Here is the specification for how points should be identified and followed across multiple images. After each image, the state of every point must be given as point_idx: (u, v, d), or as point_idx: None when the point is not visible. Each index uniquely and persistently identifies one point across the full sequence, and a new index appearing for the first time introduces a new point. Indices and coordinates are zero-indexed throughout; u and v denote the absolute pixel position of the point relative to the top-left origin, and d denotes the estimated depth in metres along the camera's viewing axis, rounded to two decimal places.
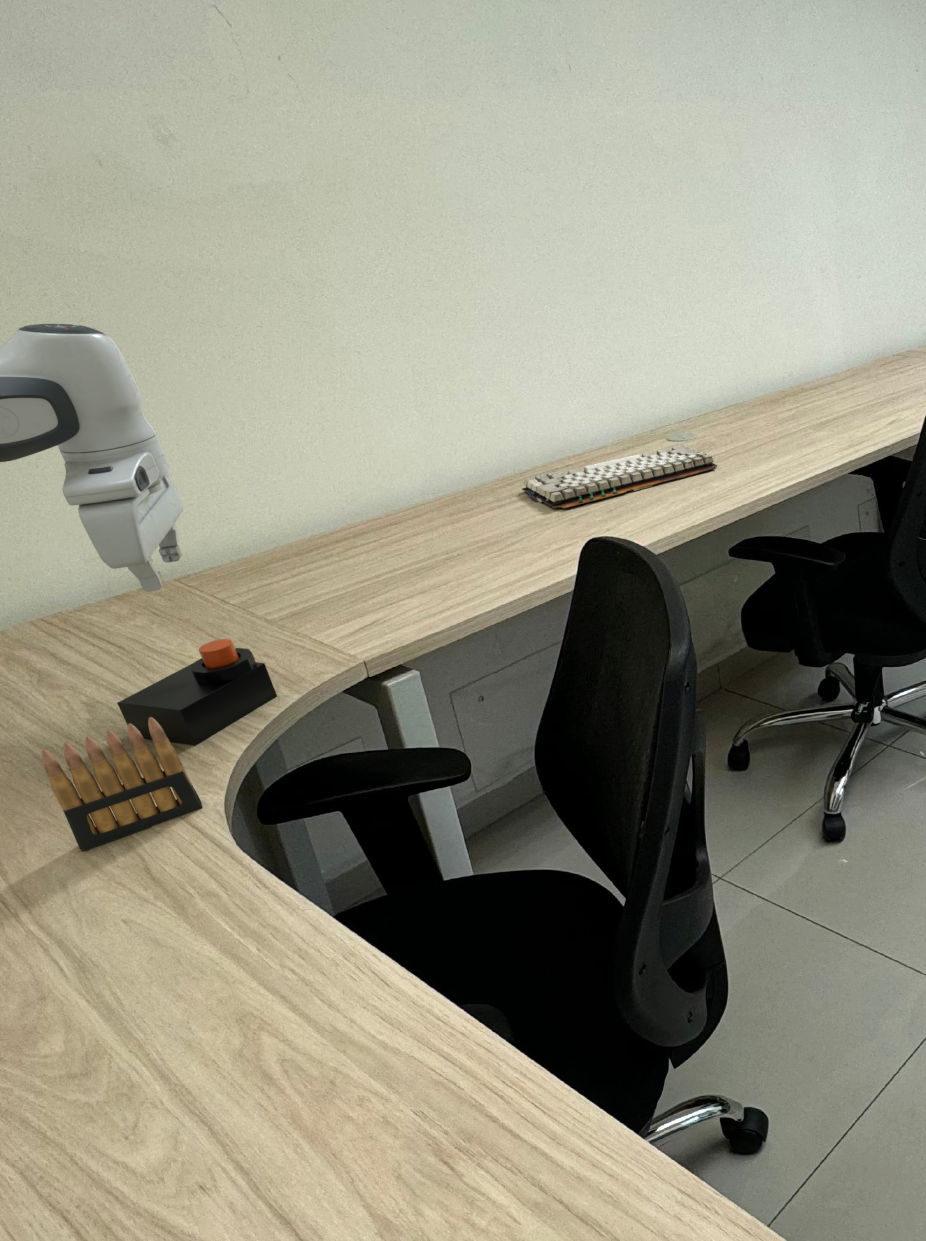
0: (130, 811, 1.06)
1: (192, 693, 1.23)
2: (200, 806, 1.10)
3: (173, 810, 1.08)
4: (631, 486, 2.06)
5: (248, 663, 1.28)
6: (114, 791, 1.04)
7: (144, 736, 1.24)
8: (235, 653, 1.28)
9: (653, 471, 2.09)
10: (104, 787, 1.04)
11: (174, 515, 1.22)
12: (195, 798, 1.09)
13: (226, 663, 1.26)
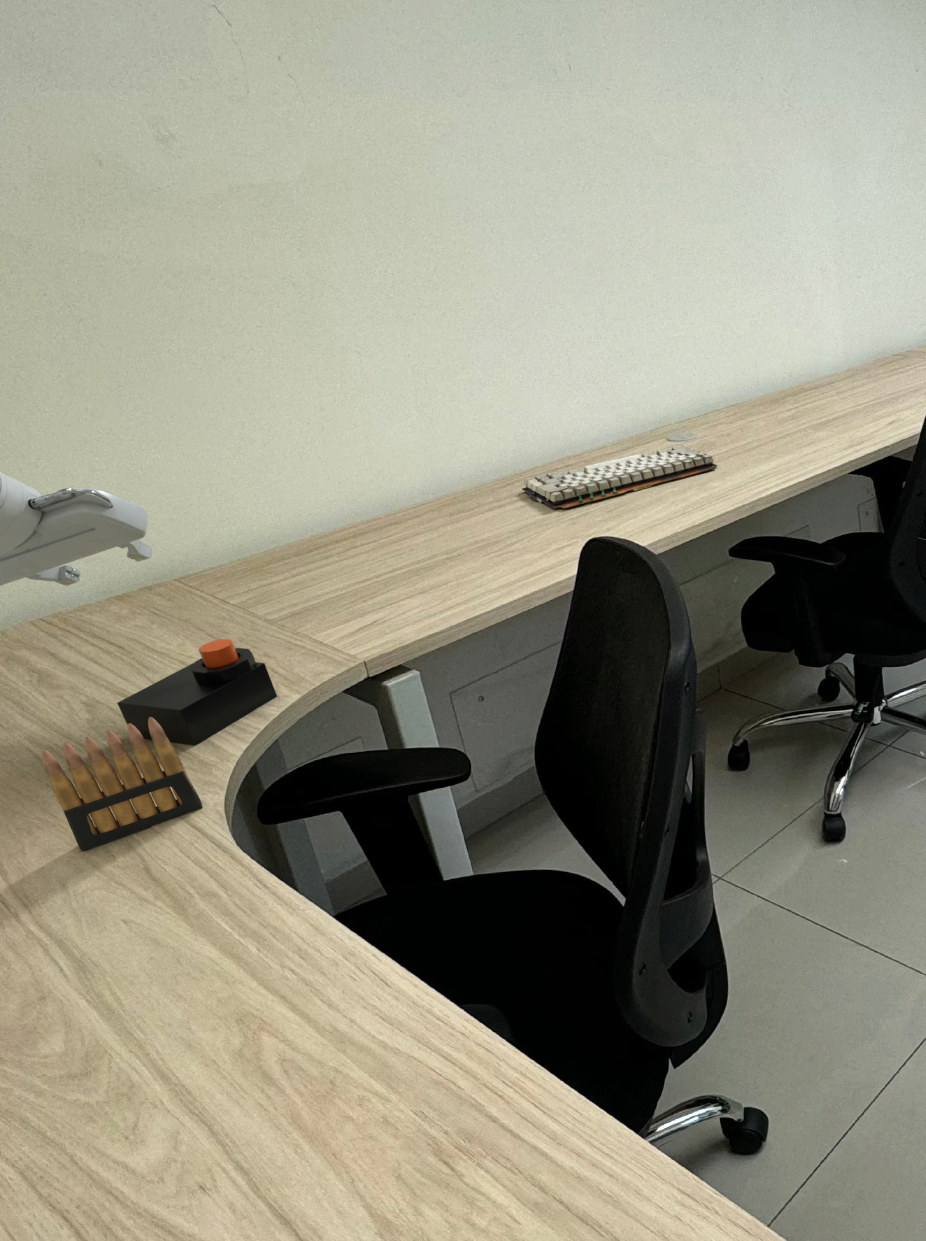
0: (130, 811, 1.06)
1: (192, 693, 1.23)
2: (200, 806, 1.10)
3: (173, 810, 1.08)
4: (631, 486, 2.06)
5: (248, 663, 1.28)
6: (114, 791, 1.04)
7: (144, 736, 1.24)
8: (235, 653, 1.28)
9: (653, 471, 2.09)
10: (104, 787, 1.04)
11: (102, 547, 1.14)
12: (195, 798, 1.09)
13: (226, 663, 1.26)
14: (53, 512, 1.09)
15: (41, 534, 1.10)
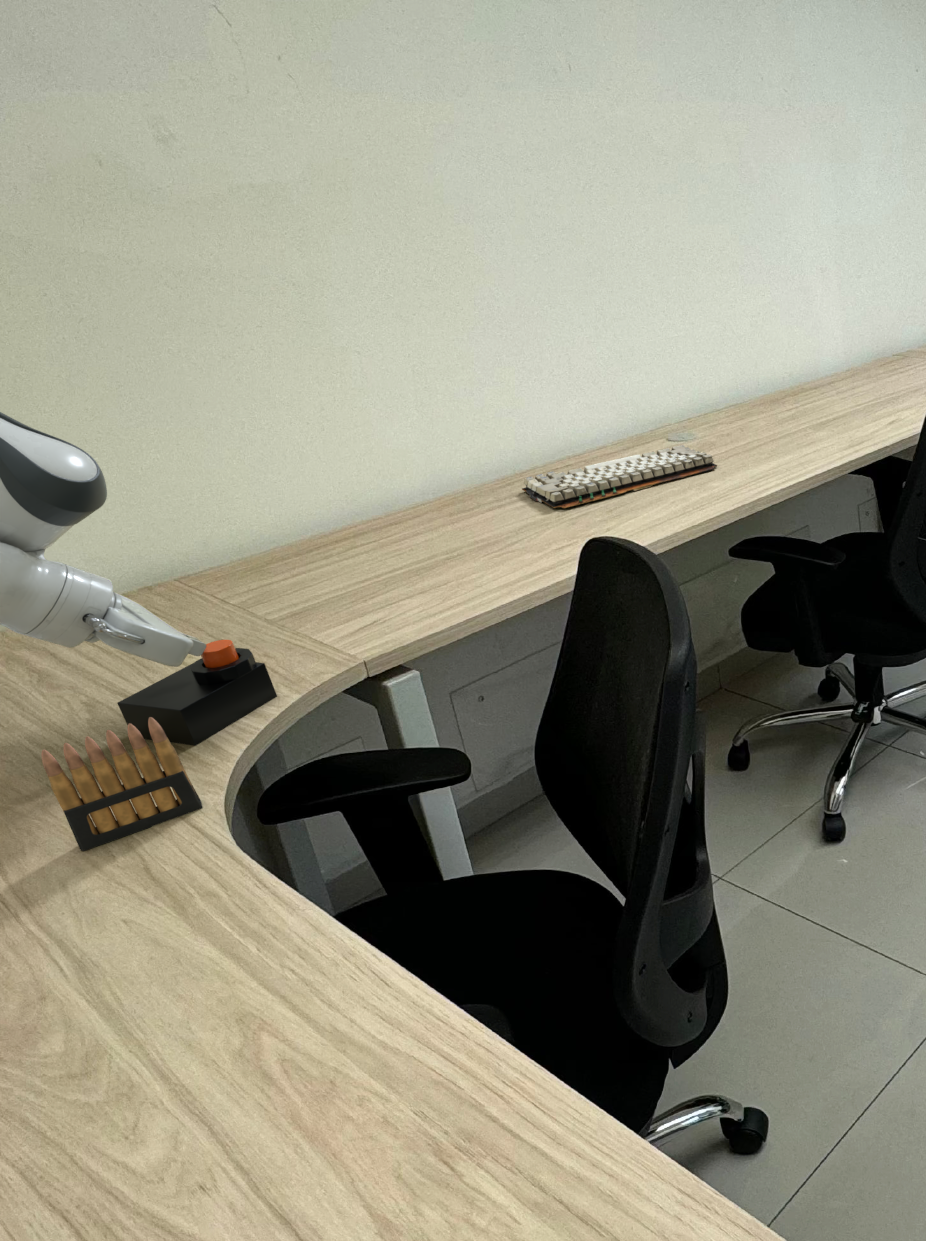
0: (130, 811, 1.06)
1: (192, 693, 1.23)
2: (200, 806, 1.10)
3: (173, 810, 1.08)
4: (631, 486, 2.06)
5: (248, 663, 1.28)
6: (114, 791, 1.04)
7: (144, 736, 1.24)
8: (235, 654, 1.28)
9: (653, 471, 2.09)
10: (104, 787, 1.04)
11: None
12: (195, 798, 1.09)
13: (226, 663, 1.26)
14: None
15: None
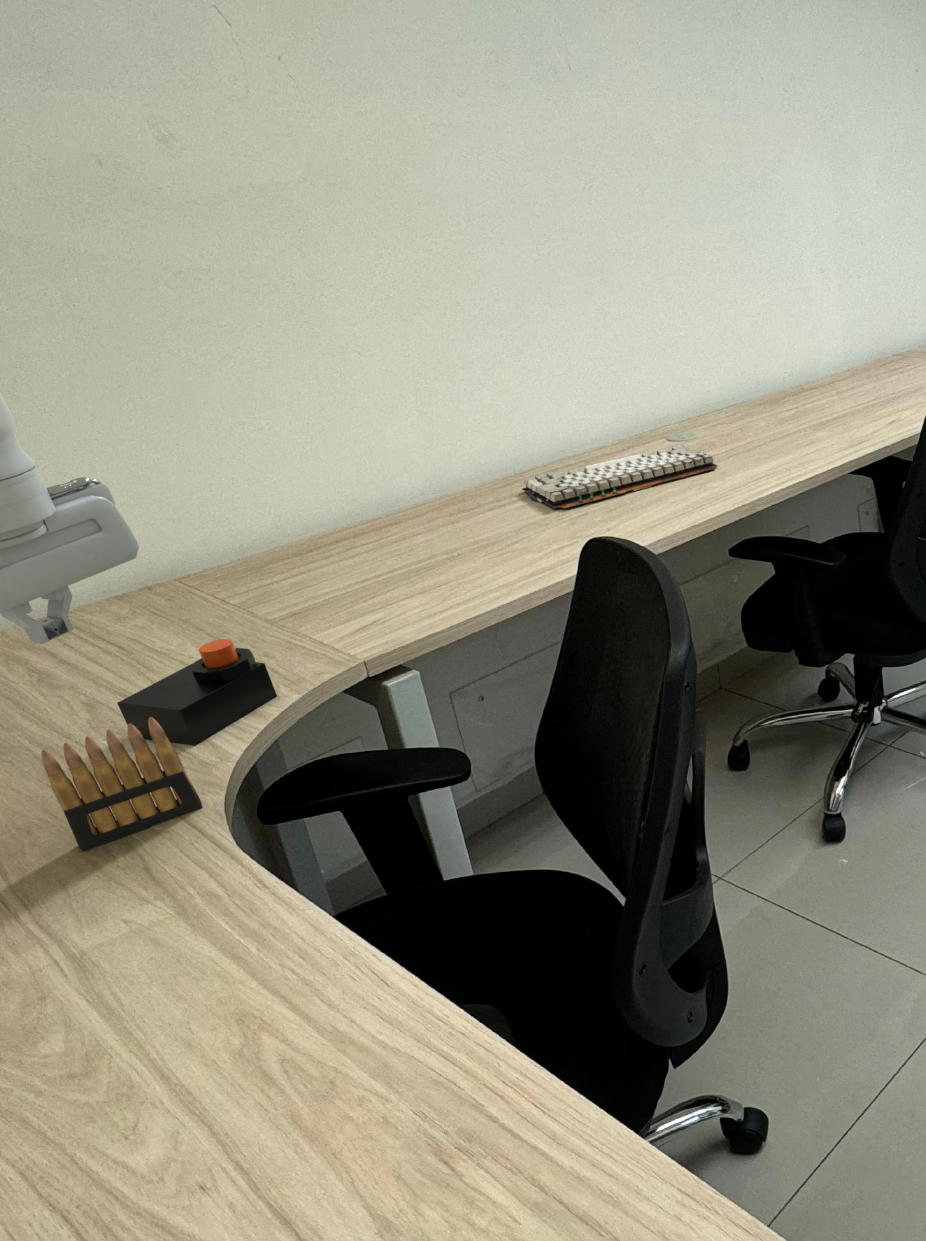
0: (130, 811, 1.06)
1: (192, 693, 1.23)
2: (200, 806, 1.10)
3: (173, 810, 1.08)
4: (631, 486, 2.06)
5: (248, 663, 1.28)
6: (114, 791, 1.04)
7: (144, 736, 1.24)
8: (235, 653, 1.28)
9: (653, 471, 2.09)
10: (104, 787, 1.04)
11: (92, 567, 0.99)
12: (195, 798, 1.09)
13: (226, 663, 1.26)
14: (64, 504, 0.97)
15: (47, 529, 0.95)
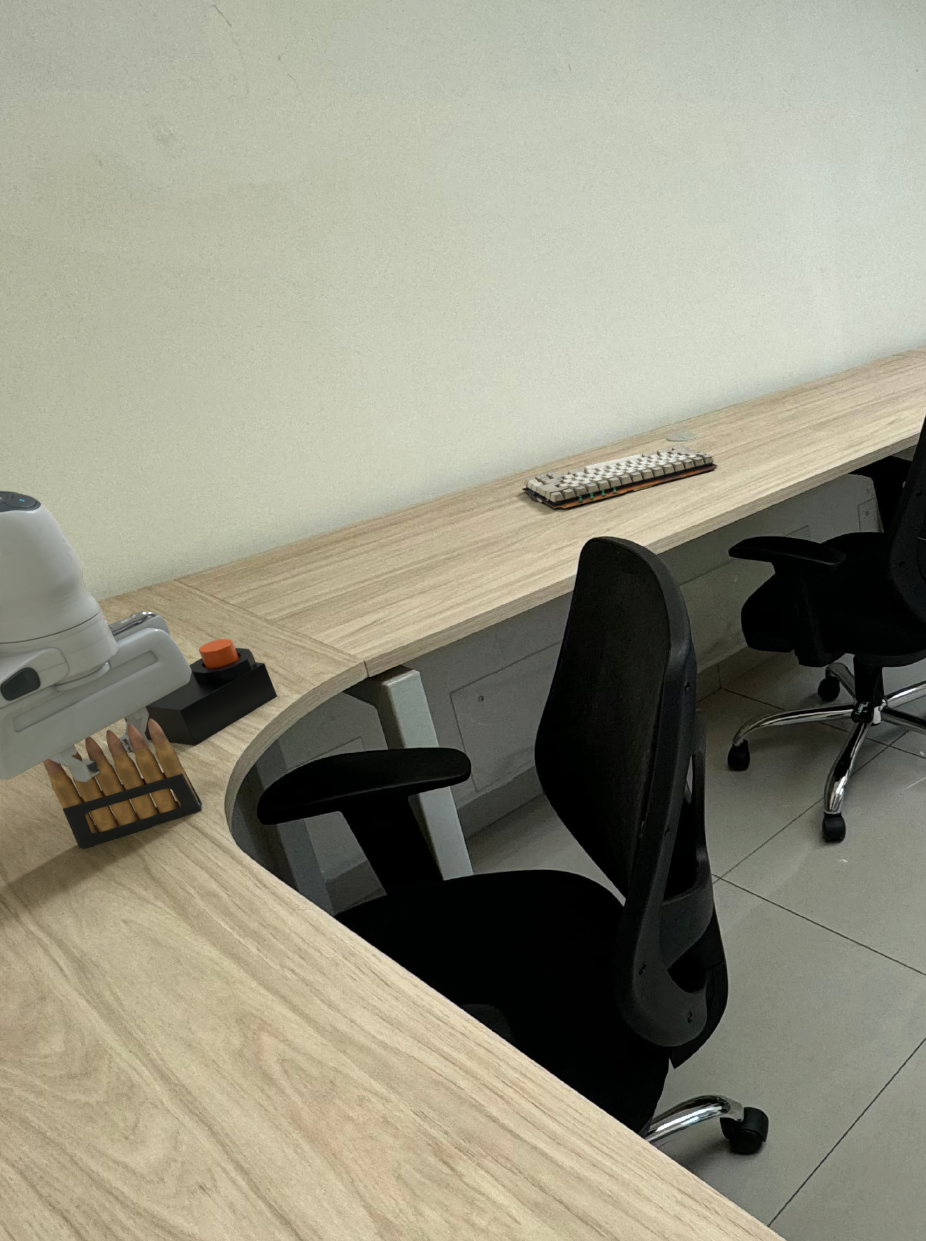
0: (129, 811, 1.06)
1: (192, 693, 1.23)
2: (199, 809, 1.09)
3: (172, 812, 1.08)
4: (631, 486, 2.06)
5: (248, 663, 1.28)
6: (112, 791, 1.04)
7: None
8: (235, 653, 1.28)
9: (653, 471, 2.09)
10: (103, 786, 1.04)
11: (149, 696, 1.06)
12: (194, 801, 1.09)
13: (226, 663, 1.26)
14: (124, 639, 1.04)
15: (110, 666, 1.01)
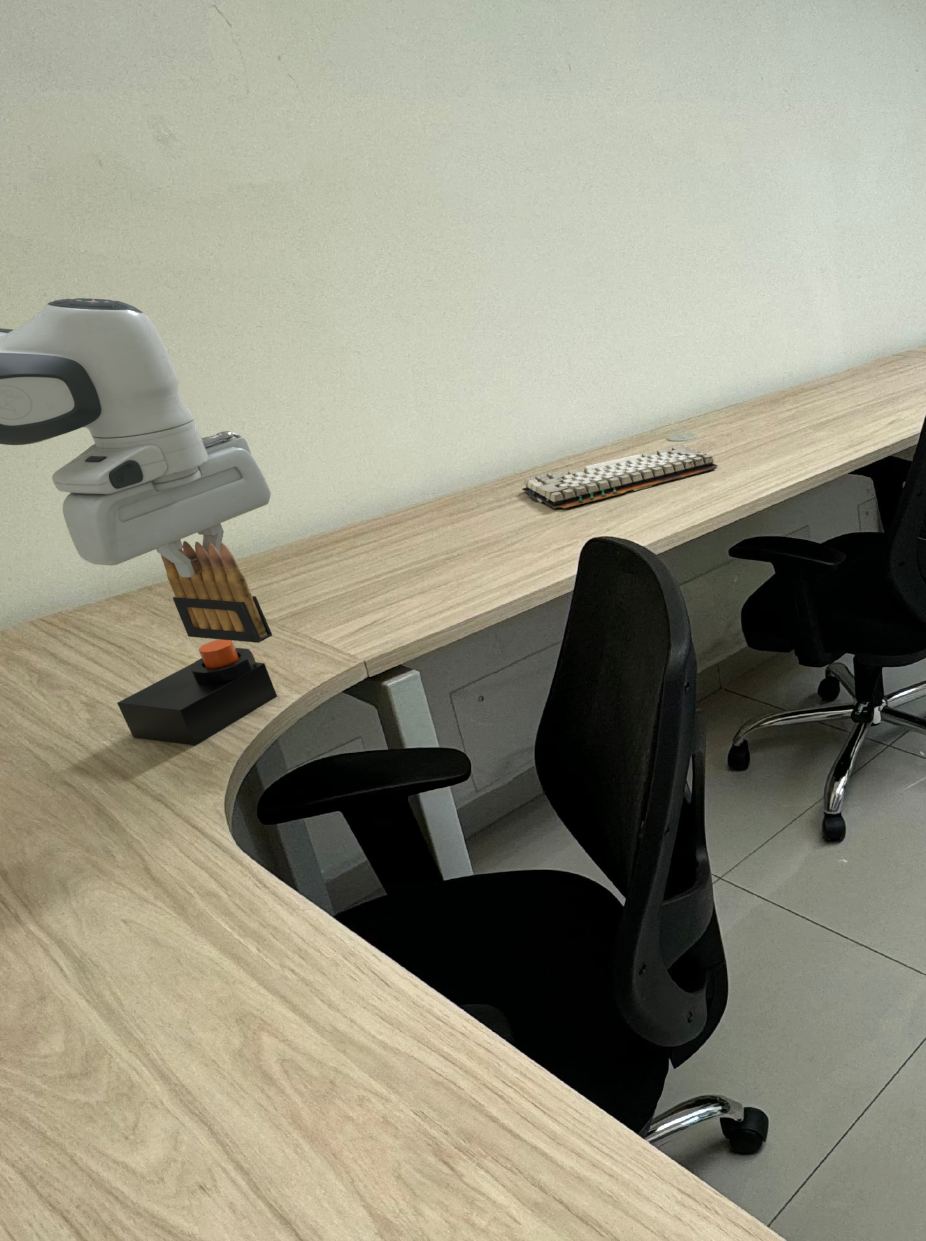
0: (214, 619, 1.14)
1: (192, 693, 1.23)
2: (257, 640, 1.13)
3: (240, 633, 1.14)
4: (631, 486, 2.06)
5: (248, 663, 1.28)
6: (200, 596, 1.13)
7: (144, 736, 1.24)
8: (235, 653, 1.28)
9: (653, 471, 2.09)
10: (195, 589, 1.13)
11: (235, 509, 1.13)
12: (253, 631, 1.13)
13: (226, 663, 1.26)
14: (213, 453, 1.11)
15: (201, 474, 1.09)
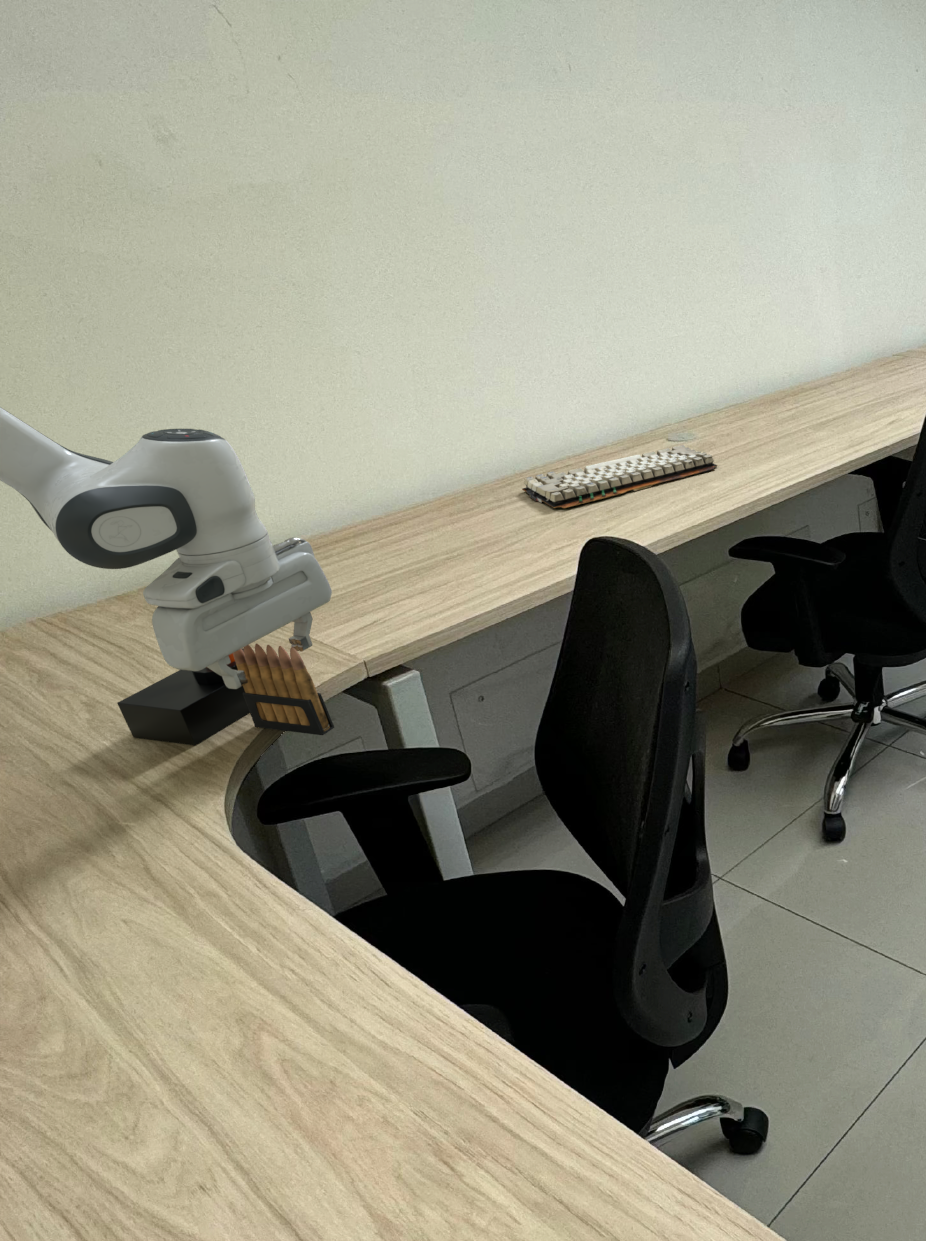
0: (281, 713, 1.23)
1: (192, 693, 1.23)
2: (321, 733, 1.23)
3: (305, 727, 1.23)
4: (631, 486, 2.06)
5: None
6: (269, 693, 1.22)
7: (144, 736, 1.24)
8: None
9: (653, 471, 2.09)
10: (264, 687, 1.22)
11: (301, 609, 1.23)
12: (317, 725, 1.22)
13: None
14: (282, 559, 1.21)
15: (272, 581, 1.19)
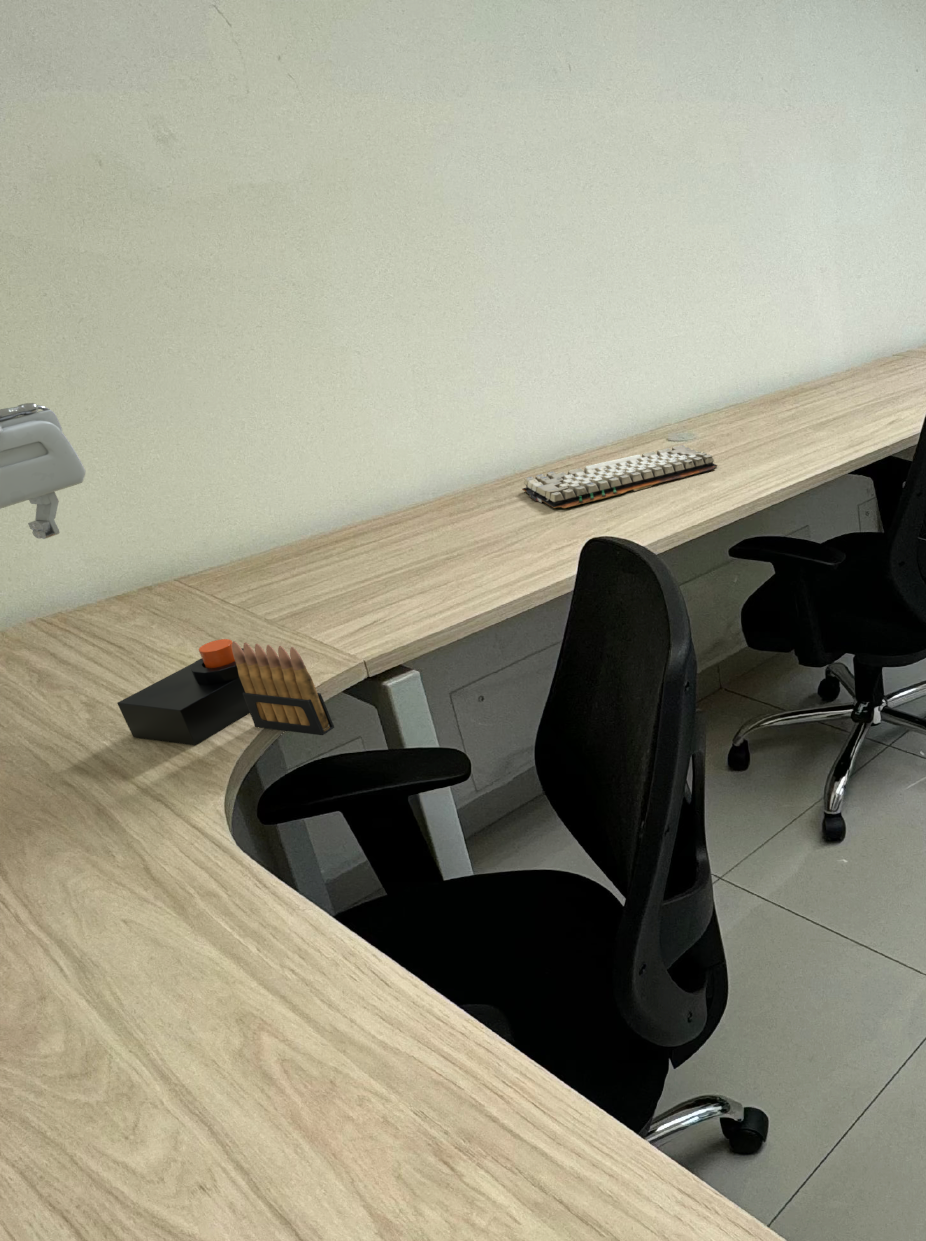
0: (281, 713, 1.23)
1: (192, 693, 1.23)
2: (321, 733, 1.23)
3: (305, 727, 1.23)
4: (631, 486, 2.06)
5: None
6: (269, 693, 1.22)
7: (144, 736, 1.24)
8: None
9: (653, 471, 2.09)
10: (264, 687, 1.22)
11: (38, 487, 1.05)
12: (317, 725, 1.22)
13: (226, 663, 1.26)
14: (11, 426, 1.03)
15: None
